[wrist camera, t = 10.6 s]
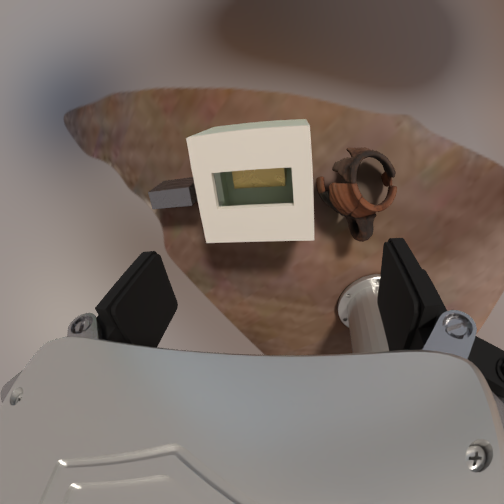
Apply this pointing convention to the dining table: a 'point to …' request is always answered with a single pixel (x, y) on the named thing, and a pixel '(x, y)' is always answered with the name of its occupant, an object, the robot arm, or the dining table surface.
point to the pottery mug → (357, 192)
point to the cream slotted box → (259, 198)
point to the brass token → (259, 178)
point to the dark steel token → (173, 193)
